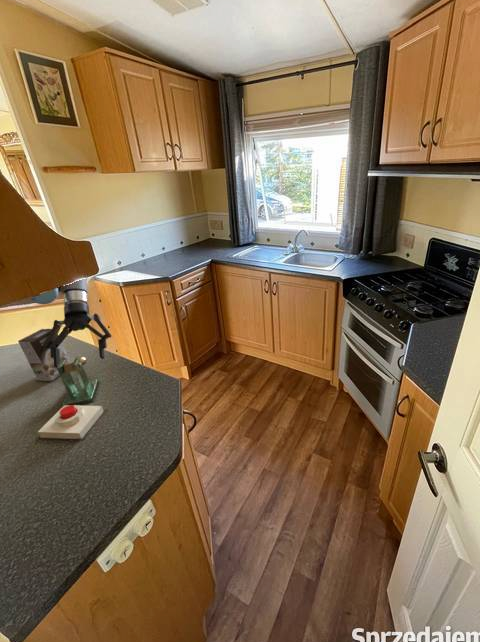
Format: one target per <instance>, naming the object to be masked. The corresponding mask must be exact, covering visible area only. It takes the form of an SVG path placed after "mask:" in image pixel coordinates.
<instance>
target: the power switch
mask: <svg viewBox="0 0 480 642" xmlns="http://www.w3.org/2000/svg"><path fill="white" fill-rule="evenodd" d="M79 357H80V356H76V357H74V360H73V361H72V362H73V364H72V366H73V369H74V371H73V372H74V373H75V376H76V378H77V380H78V383H75V381H74V378H73V376H72V374H71V372H66V373H65V369H64V365H65V364H66V362H65V360H61V362H60V363H59V365H58V367H57V370H58V372H59V374H60V375H59V376H60V378H61V381H62V383H63V386H64V388H65V389H66V392H67V394H66V395H65V397H64V400H63V402H62V407H63V406H64V405H80V406H81V405H85V404H88V403H92V402H93V401H94V399H95V395H96V391H97V389H98V386H99V380H98V379H92V380H89V378H88V376H87V372H86V370H85V368H84V365H83V366H82V363H81V361H80V358H79Z"/></svg>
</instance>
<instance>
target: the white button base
mask: <svg viewBox="0 0 480 642" xmlns="http://www.w3.org/2000/svg"><path fill="white" fill-rule="evenodd" d="M67 406H70V405H64V406H62V407H61V408H60V409H59V410H58V411H57V412H56V413H55V414H54V415H53V416H52V417H51V418H50V419H49V420H48V421H47V422H46V423H45V424H44V425H43V426H42V427H41V428H40V429H39V430H38V431H37V433H38V436H39V437H40V438H41V439H69V440H82V439H84V437H85V436H86V434H87V433H88V432H89V431H90V430H91V428H92V427H93V426H94V425H95V423H96V422H97V421H98V420H99V418H100V417H101V416H102V415H103V413H104V412H105V411H104V408H103V406H102V405H81V404H80V405H73V406H75V409H76V411H77V413H76V414H75V415H74V416H73V417H71V418H68V419H62V417H61V415H60V411H61V410H62V409H63V408H64V407H67Z"/></svg>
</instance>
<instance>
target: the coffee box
mask: <svg viewBox="0 0 480 642" xmlns="http://www.w3.org/2000/svg"><path fill="white" fill-rule="evenodd" d="M51 330H52V328H41V329H39V330H37V331H35V332H33V333H31V334H29V335H27V336H25V337H23V338H21V339H20V340H17V341H18V344H19V346H20V348H21V350H22V352H23V354H24V356H25V358H26V360H27V362H28V364H29V366H30V368H31V369H32V372H33V373H34V375H35V378H36V380H37V381H42V382H43V381H45V382H52V381H54V380H55V379H56V378H59V376H60V374H59V372H58V370H57V367H54V359H53V358H51V356H50V354H51V353H50V349H47V348H45V347H43V345H44V343H45V341H46V339H47V337H48V335H49V334H50V332H51ZM58 335H59V333H58V334H57V336H58ZM57 336H56V338H57ZM56 338H55V339H56ZM58 349H60V362H61V360H65V362H66V364H67V363H71V361H70V359H69V355H68V354H67V351H66V349H65V347H64V345H63V342H62V343H61V344H60V345H59V346H58Z"/></svg>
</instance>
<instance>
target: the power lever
mask: <svg viewBox="0 0 480 642" xmlns="http://www.w3.org/2000/svg"><path fill="white" fill-rule="evenodd" d="M78 357H79V358H80V361H81V363H82V366H83V367H84V366H85V365H86V364H87V362H88V361H87V358H86V357H85V356H78ZM73 362H74V361H72V362H71V361H70V363H67V364H65V365H64V369H65V373H66V372H70V373H71V372H75V371H74V369H73V366H72V364H73Z"/></svg>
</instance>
